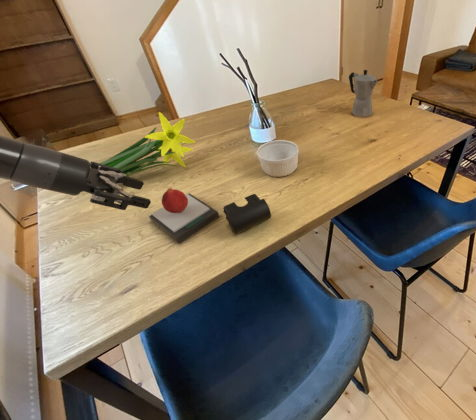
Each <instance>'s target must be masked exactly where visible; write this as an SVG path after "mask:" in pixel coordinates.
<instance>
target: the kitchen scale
mask: <svg viewBox="0 0 476 420" xmlns="http://www.w3.org/2000/svg"><path fill="white" fill-rule="evenodd" d="M185 195H186V197H187V199H188V205H187V207H186V208H185V210H183V212H181V213H171V212H168V211H166V210H165V209H164V207H163V206H162V207H161V208H160V209H157V210H156V211H154V212H153V213H151V214H150V215H149V216H148V217H149V219H150V220H151V222H152V223H153V224H154V225H155V226H157V227H158V228H159V229H161V230H162V231H163V232H164V233H165V234H167V235H168V236H169V237H170V238H171V239H173V240H174V241H175V242H176V243H178V244H179V245H180V244H181V243H183V242H184V241H186V240H187V239H188V238H191V237H192V236H193V235H194V234H196V233H198V232H199V231H200V230H202V229H203V228H205V227H206V226H208V225H209V224H210V223H212V222H214V221H215V220H217V219H219V218H220V215H219V212H218V210H216V209H215V208H213V207H211V206H210V205H208V204H207V203H205V202H204V201H202V200H200V199H199V198H198V197H196V196H194V194H191V193H186V194H185Z"/></svg>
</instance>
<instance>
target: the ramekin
mask: <svg viewBox="0 0 476 420" xmlns="http://www.w3.org/2000/svg"><path fill="white" fill-rule="evenodd" d="M299 153H300V151H299V146H298V144H296V143H295V142H294V141H291V140H285V139H276V140H270V141H267V142H265V143H263V144H261V145H260V146H258V148H257V151H256V156H257V158H258V160H259V164H260V166H261V169H262V171H263V172H264V173H265V174H267V175H269V176H271V177H274V178H281V177H286V176H287V177H288V176H289V175H291V174H292V173H294V172H295V171H296V170H297V168H298V164H299Z"/></svg>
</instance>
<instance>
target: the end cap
mask: <svg viewBox="0 0 476 420" xmlns="http://www.w3.org/2000/svg"><path fill="white" fill-rule="evenodd" d="M244 199H245V201H246V202H247V203H246V204H245V205H242V206H241V205H240V206H239V205H237V203H236V202H234V201H233V202H230V203H228V204H226V205H224V206H223V207H222V209H223V213H224V215H225V220H226V221H227V222H228V225H229V227H230V230H231V232H232V234H233V235H238V234H239V233H240V234H241V233H242V232H243V231H246V230H248V229H251V228H253V227H255V226H257V225H259V224H261V223H263V222H265V221H268V220H269V219H271V218H272V212H271V209H270V206H269V204H268V203H267V201H266V200H265V198H262V199H260V197H259V196H258V195H257V194H256V193H252V194H250V195H248V196H245V197H244Z"/></svg>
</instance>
